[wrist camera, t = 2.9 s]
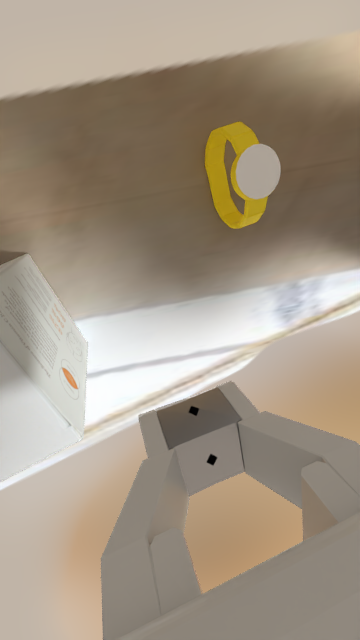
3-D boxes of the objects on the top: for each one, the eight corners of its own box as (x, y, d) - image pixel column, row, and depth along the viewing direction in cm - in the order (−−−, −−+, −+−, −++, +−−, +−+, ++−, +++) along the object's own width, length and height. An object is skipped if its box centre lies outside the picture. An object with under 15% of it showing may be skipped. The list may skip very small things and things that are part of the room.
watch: (188, 146, 19) (221, 112, 14) (224, 135, 20) (270, 97, 14) (211, 232, 22) (247, 232, 16) (243, 220, 22) (289, 216, 16)
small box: (-50, 286, 18) (-206, 368, 9) (30, 250, 19) (-37, 292, 9) (24, 376, 22) (-32, 503, 12) (90, 344, 22) (85, 442, 13)
